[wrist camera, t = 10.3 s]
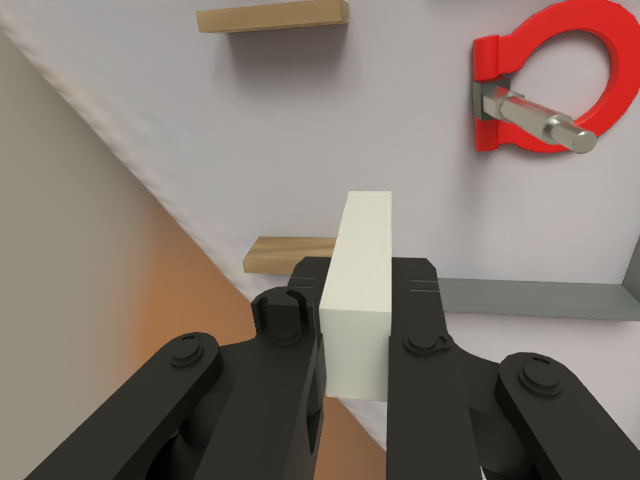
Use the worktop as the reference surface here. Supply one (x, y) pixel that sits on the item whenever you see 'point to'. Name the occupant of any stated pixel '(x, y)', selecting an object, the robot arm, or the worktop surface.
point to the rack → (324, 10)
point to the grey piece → (547, 297)
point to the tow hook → (539, 121)
